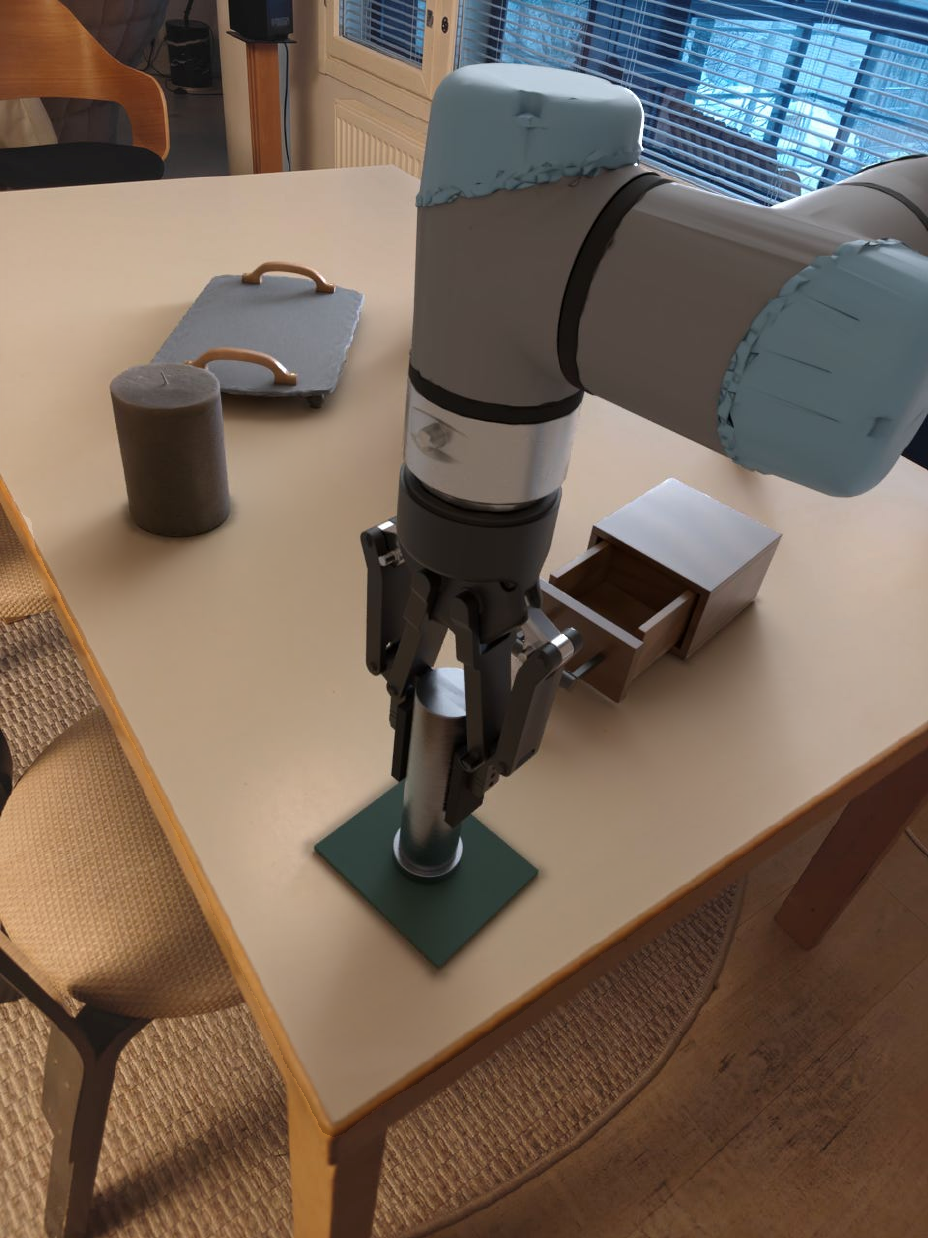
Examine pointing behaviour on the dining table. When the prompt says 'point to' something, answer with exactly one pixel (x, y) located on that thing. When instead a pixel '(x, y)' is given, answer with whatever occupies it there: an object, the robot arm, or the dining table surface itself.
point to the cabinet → (695, 551)
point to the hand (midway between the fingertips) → (436, 789)
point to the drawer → (614, 616)
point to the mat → (418, 910)
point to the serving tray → (268, 333)
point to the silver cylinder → (431, 778)
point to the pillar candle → (172, 447)
